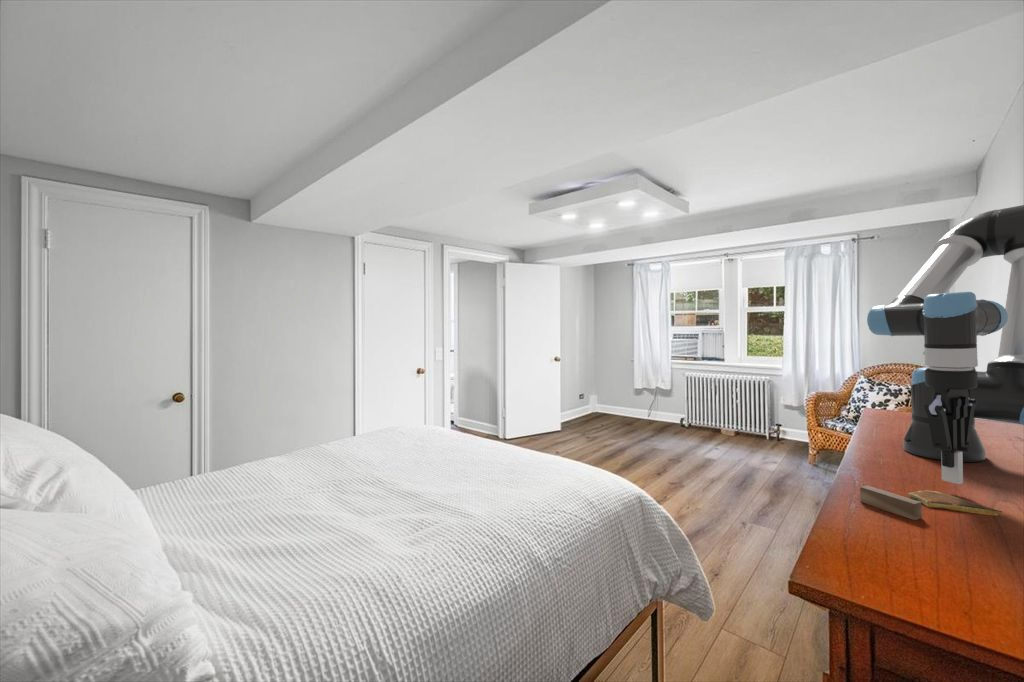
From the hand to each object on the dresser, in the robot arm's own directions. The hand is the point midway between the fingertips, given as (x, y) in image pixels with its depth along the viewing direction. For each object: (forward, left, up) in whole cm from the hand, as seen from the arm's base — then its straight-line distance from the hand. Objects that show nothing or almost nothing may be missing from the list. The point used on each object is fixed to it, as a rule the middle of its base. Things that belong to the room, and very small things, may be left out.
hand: (952, 481), depth 88 cm
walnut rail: (+20, 0, -2) cm, 20 cm away
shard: (+7, +3, -3) cm, 8 cm away
